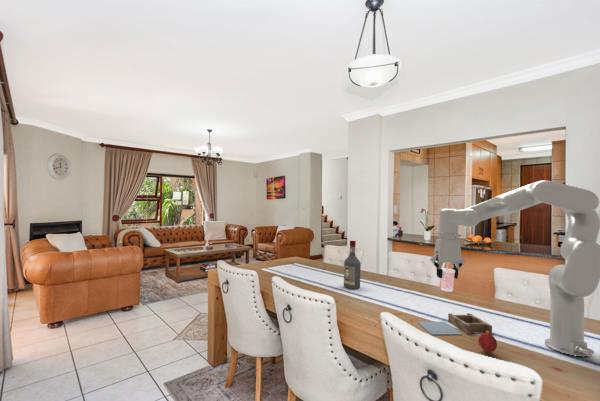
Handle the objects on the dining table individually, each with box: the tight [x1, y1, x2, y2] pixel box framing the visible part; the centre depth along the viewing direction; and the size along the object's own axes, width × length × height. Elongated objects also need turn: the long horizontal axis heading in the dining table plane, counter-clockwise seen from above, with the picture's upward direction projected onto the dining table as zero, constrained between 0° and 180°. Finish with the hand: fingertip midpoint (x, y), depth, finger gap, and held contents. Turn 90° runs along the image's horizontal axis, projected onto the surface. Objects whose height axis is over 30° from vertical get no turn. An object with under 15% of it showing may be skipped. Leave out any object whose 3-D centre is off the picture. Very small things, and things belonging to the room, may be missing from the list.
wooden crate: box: [447, 313, 493, 335], centre depth 128 cm, size 14×11×4 cm
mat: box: [416, 321, 463, 336], centre depth 126 cm, size 13×13×1 cm
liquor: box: [343, 240, 361, 290], centre depth 188 cm, size 9×9×30 cm
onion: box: [477, 331, 498, 354], centre depth 106 cm, size 6×6×8 cm
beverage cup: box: [440, 263, 455, 293], centre depth 127 cm, size 6×6×14 cm
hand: (447, 277), depth 127 cm, fingers closed on beverage cup, 6 cm apart
